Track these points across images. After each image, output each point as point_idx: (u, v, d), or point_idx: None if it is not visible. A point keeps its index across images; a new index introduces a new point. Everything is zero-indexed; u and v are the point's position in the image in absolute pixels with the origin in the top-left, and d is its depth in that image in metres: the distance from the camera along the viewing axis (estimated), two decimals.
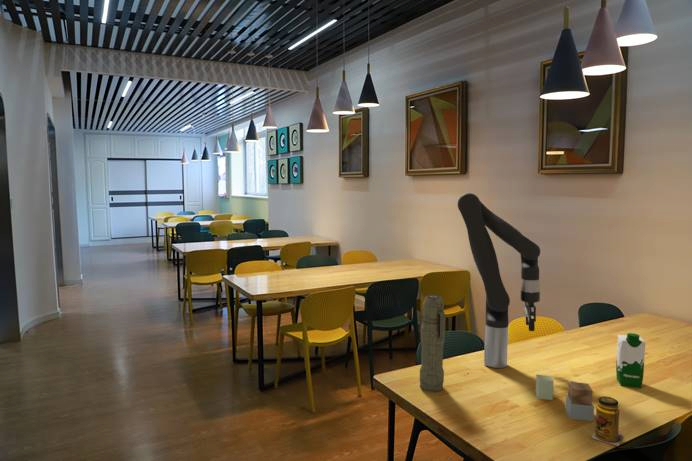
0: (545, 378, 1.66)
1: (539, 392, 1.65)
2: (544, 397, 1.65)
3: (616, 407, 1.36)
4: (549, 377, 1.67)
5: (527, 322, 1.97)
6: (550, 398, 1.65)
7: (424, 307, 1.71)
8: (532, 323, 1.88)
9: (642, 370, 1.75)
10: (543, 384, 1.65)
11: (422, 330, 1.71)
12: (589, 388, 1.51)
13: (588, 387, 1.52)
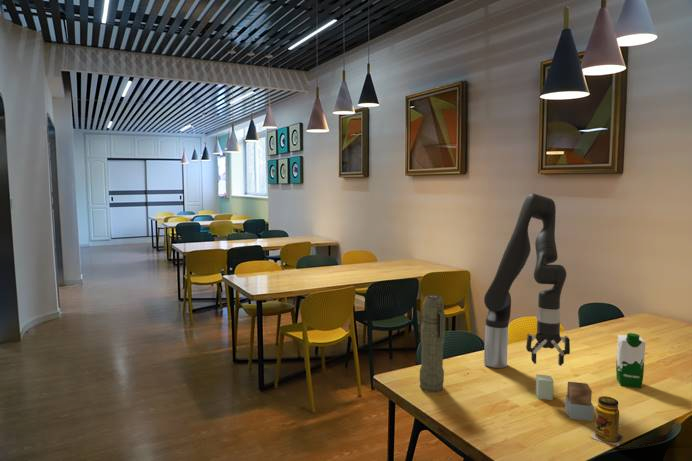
0: (545, 378, 1.66)
1: (539, 392, 1.65)
2: (544, 397, 1.65)
3: (616, 407, 1.36)
4: (549, 377, 1.67)
5: (535, 360, 1.67)
6: (550, 398, 1.65)
7: (424, 307, 1.71)
8: None
9: (642, 370, 1.75)
10: (543, 384, 1.65)
11: (422, 330, 1.71)
12: (588, 388, 1.51)
13: (587, 387, 1.52)
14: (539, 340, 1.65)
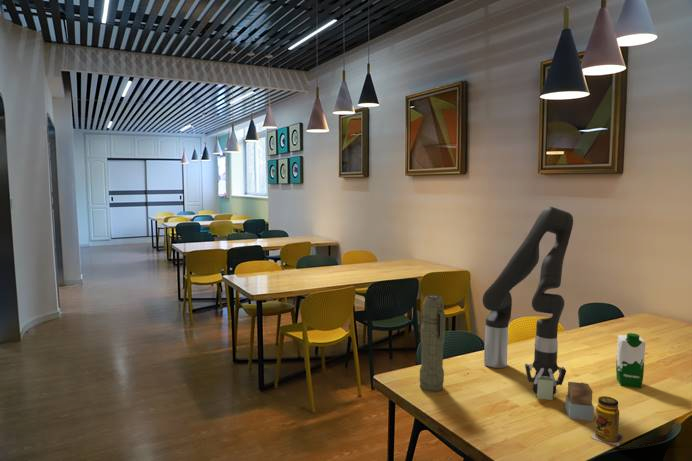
0: (545, 378, 1.66)
1: (539, 392, 1.65)
2: (544, 397, 1.65)
3: (616, 407, 1.36)
4: (549, 377, 1.67)
5: None
6: (550, 398, 1.65)
7: (424, 307, 1.71)
8: None
9: (642, 370, 1.75)
10: (543, 383, 1.65)
11: (422, 330, 1.71)
12: (589, 388, 1.51)
13: (588, 387, 1.52)
14: (536, 370, 1.66)
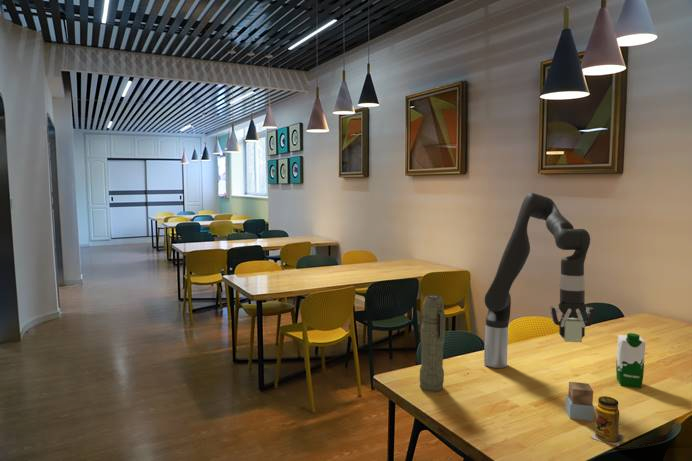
0: (572, 319, 1.56)
1: (567, 334, 1.55)
2: (572, 340, 1.55)
3: (616, 407, 1.36)
4: (576, 319, 1.57)
5: None
6: (579, 340, 1.54)
7: (424, 307, 1.71)
8: None
9: (642, 370, 1.75)
10: (570, 325, 1.54)
11: (422, 330, 1.71)
12: (589, 388, 1.51)
13: (588, 387, 1.52)
14: (563, 311, 1.56)
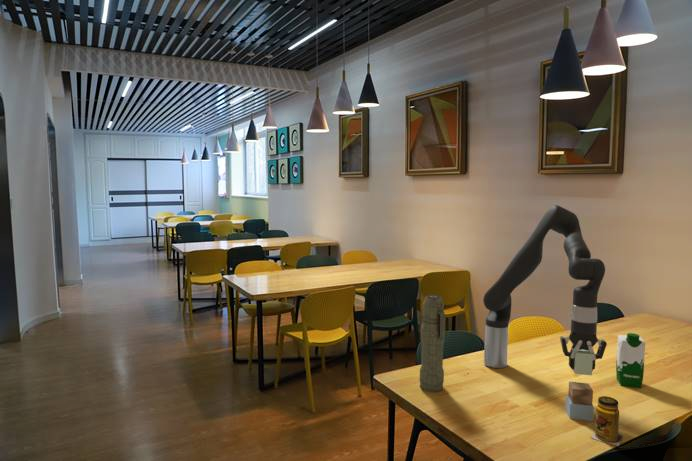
0: (583, 351, 1.51)
1: (577, 367, 1.50)
2: (582, 372, 1.50)
3: (616, 407, 1.36)
4: (587, 350, 1.52)
5: None
6: (589, 373, 1.50)
7: (424, 307, 1.71)
8: None
9: (642, 370, 1.75)
10: (581, 357, 1.50)
11: (422, 330, 1.71)
12: (589, 388, 1.51)
13: (588, 387, 1.52)
14: (574, 342, 1.51)
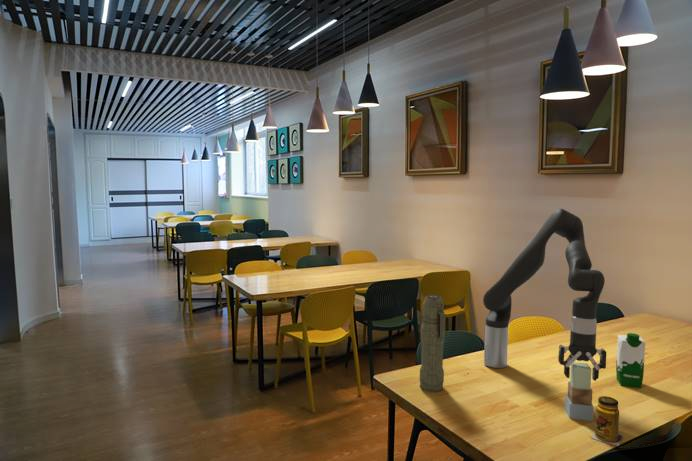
0: (582, 366, 1.52)
1: (575, 381, 1.51)
2: (581, 386, 1.50)
3: (616, 407, 1.36)
4: (586, 365, 1.53)
5: None
6: (587, 388, 1.50)
7: (424, 307, 1.71)
8: None
9: (642, 370, 1.75)
10: (579, 372, 1.50)
11: (422, 330, 1.71)
12: None
13: None
14: (572, 352, 1.52)
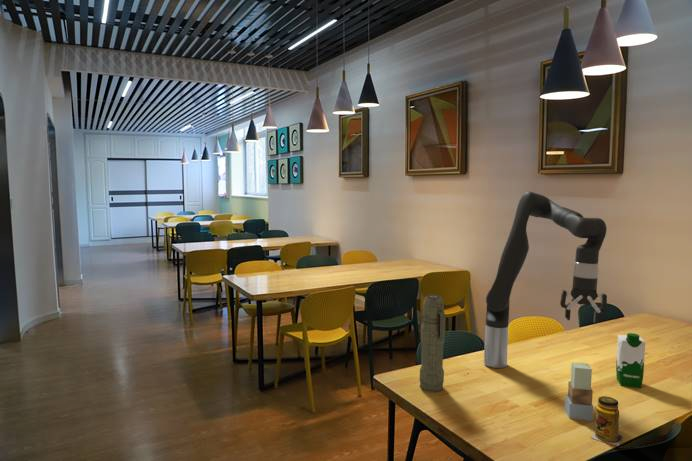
0: (582, 366, 1.52)
1: (576, 381, 1.51)
2: (581, 387, 1.50)
3: (616, 407, 1.36)
4: (586, 365, 1.52)
5: (569, 316, 1.62)
6: (588, 388, 1.50)
7: (424, 307, 1.71)
8: None
9: (642, 370, 1.75)
10: (580, 372, 1.50)
11: (422, 330, 1.71)
12: None
13: None
14: (574, 296, 1.60)
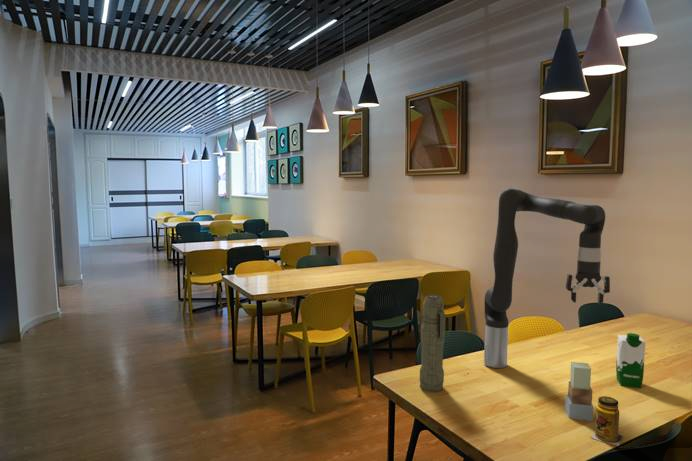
0: (582, 365, 1.52)
1: (575, 381, 1.51)
2: (580, 386, 1.51)
3: (616, 407, 1.36)
4: (586, 365, 1.53)
5: None
6: (587, 387, 1.50)
7: (424, 307, 1.71)
8: None
9: (642, 370, 1.75)
10: (579, 371, 1.50)
11: (422, 330, 1.71)
12: None
13: None
14: (579, 279, 1.70)
